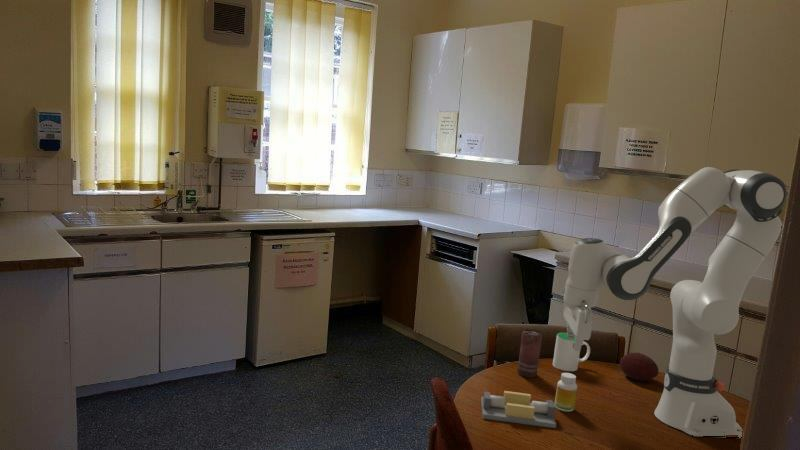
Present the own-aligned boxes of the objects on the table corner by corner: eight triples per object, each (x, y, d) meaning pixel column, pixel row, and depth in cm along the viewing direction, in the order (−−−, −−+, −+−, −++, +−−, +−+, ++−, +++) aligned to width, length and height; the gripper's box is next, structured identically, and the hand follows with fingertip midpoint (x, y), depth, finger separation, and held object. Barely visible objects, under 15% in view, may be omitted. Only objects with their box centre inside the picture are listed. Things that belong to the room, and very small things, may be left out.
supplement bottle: (574, 413, 168) (579, 380, 167) (554, 410, 169) (559, 377, 168) (573, 405, 174) (577, 373, 172) (553, 402, 175) (558, 370, 173)
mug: (580, 362, 210) (584, 333, 208) (592, 371, 202) (597, 341, 200) (548, 361, 207) (552, 332, 205) (559, 371, 199) (563, 340, 198)
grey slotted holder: (549, 409, 169) (551, 395, 169) (555, 428, 159) (557, 413, 158) (481, 400, 171) (482, 386, 170) (482, 418, 160) (484, 403, 159)
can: (513, 370, 196) (518, 328, 194) (530, 369, 198) (536, 328, 196) (522, 378, 190) (528, 335, 188) (540, 377, 192) (546, 335, 190)
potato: (614, 369, 206) (617, 346, 205) (647, 373, 206) (651, 349, 204) (625, 383, 194) (629, 358, 193) (660, 387, 194) (664, 362, 193)
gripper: (601, 308, 156) (593, 359, 158) (584, 288, 176) (577, 334, 178) (576, 305, 157) (568, 356, 159) (562, 286, 177) (555, 331, 179)
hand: (573, 344), depth 169 cm, fingers open, 8 cm apart
